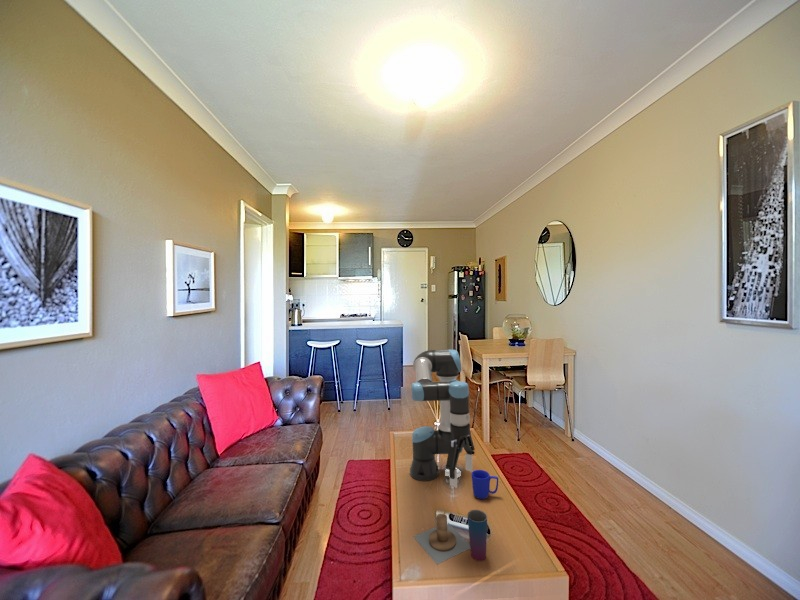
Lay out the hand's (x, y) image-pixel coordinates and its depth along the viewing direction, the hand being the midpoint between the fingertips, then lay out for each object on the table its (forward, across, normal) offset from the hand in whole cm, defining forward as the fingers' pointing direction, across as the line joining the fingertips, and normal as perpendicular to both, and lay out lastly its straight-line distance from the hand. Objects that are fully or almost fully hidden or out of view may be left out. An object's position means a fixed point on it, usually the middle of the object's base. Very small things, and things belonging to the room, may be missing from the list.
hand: (461, 478), depth 131 cm
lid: (+22, -8, +5) cm, 24 cm away
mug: (+23, +30, +3) cm, 38 cm away
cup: (+23, -7, -9) cm, 26 cm away
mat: (+23, -8, +5) cm, 24 cm away
